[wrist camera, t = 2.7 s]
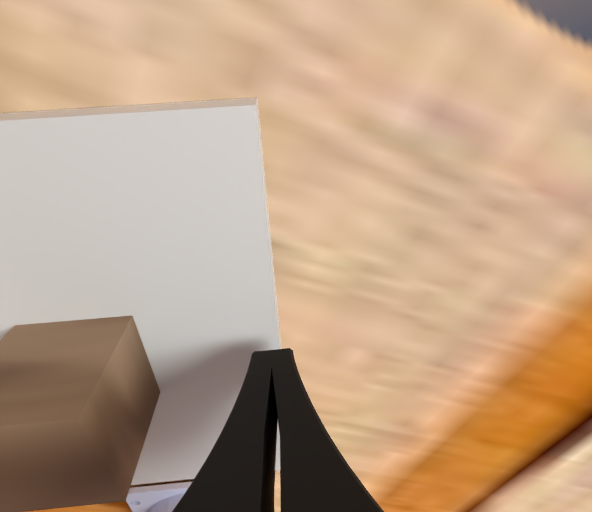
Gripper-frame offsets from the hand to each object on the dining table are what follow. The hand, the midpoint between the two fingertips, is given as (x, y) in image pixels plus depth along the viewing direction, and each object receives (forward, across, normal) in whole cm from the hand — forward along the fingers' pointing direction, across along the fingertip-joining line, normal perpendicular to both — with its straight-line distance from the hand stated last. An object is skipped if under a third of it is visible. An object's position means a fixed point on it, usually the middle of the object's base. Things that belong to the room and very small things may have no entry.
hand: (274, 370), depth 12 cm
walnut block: (+1, +7, 0) cm, 7 cm away
